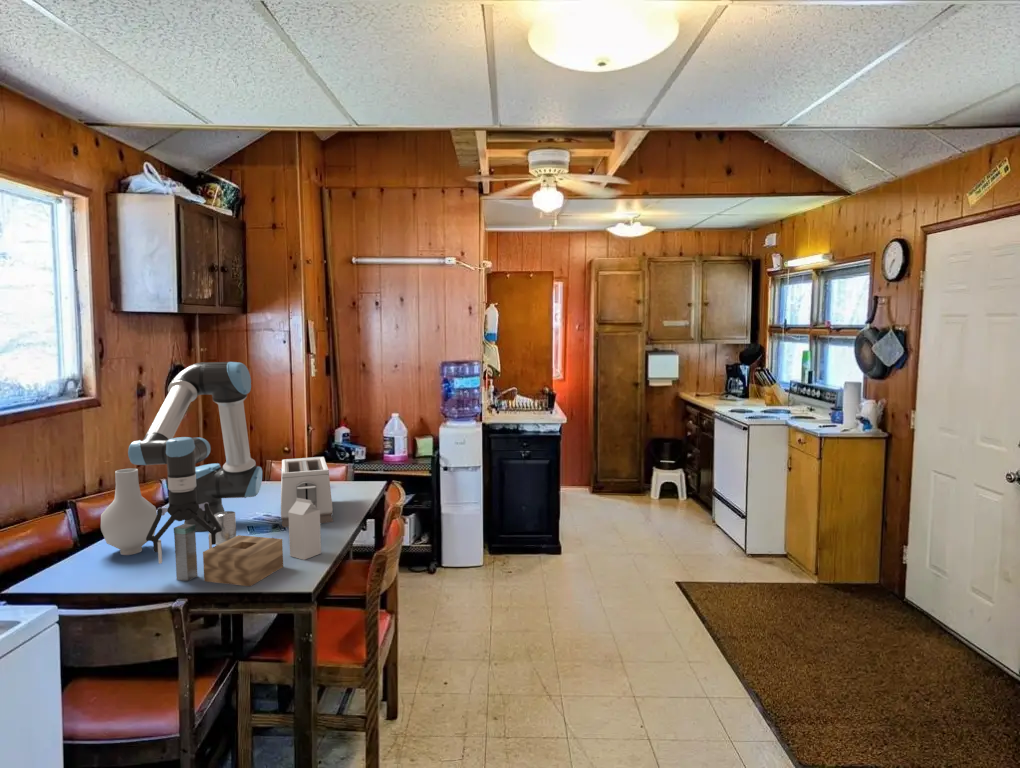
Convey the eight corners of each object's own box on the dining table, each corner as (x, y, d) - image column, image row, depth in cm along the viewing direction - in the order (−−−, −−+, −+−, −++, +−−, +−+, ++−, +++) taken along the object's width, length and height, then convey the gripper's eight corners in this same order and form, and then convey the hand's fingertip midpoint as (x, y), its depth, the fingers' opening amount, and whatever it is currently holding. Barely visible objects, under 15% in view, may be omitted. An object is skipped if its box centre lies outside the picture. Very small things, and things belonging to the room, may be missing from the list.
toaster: (281, 530, 240) (279, 476, 238) (281, 506, 272) (279, 459, 270) (334, 524, 247) (332, 471, 245) (327, 502, 279) (326, 455, 277)
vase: (100, 550, 219) (95, 469, 217) (155, 540, 229) (150, 463, 226) (104, 564, 206) (99, 478, 203) (162, 553, 215) (157, 471, 213)
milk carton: (304, 560, 208) (302, 503, 206) (289, 556, 211) (287, 500, 210) (321, 553, 214) (319, 498, 212) (307, 550, 217) (305, 495, 216)
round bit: (211, 557, 211) (209, 515, 210) (225, 551, 217) (223, 510, 216) (228, 559, 209) (226, 517, 208) (241, 552, 216) (239, 511, 214)
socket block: (204, 581, 191) (202, 551, 190) (239, 562, 206) (238, 535, 205) (250, 586, 187) (249, 556, 186) (283, 566, 202) (282, 538, 201)
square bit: (176, 579, 192) (173, 527, 191) (186, 574, 196) (183, 523, 195) (187, 581, 191) (185, 528, 190) (197, 576, 195) (195, 524, 194)
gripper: (133, 497, 183) (137, 569, 184) (228, 487, 193) (231, 556, 195) (135, 491, 189) (139, 561, 191) (227, 482, 200) (230, 548, 202)
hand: (186, 558), depth 193 cm, fingers open, 13 cm apart
